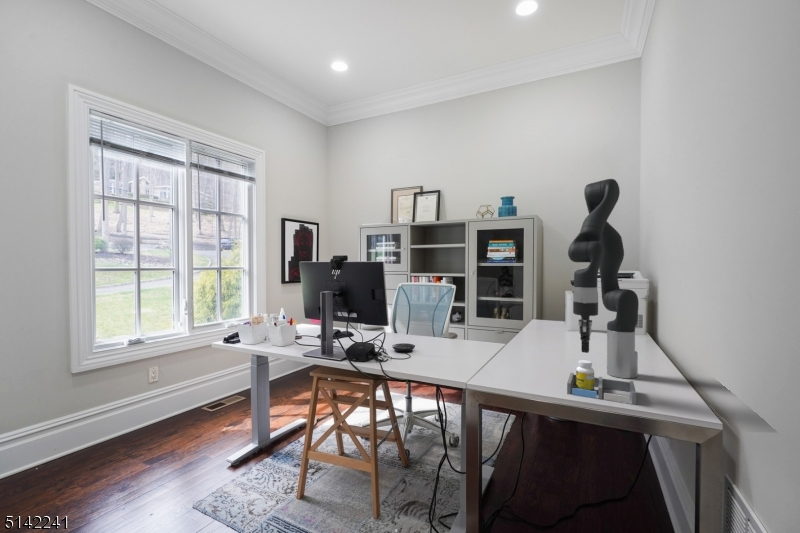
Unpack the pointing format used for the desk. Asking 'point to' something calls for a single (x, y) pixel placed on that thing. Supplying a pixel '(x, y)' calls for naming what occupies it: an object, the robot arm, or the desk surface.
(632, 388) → the divided storage rack
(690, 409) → the desk surface
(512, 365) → the desk surface
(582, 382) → the supplement bottle
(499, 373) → the desk surface
